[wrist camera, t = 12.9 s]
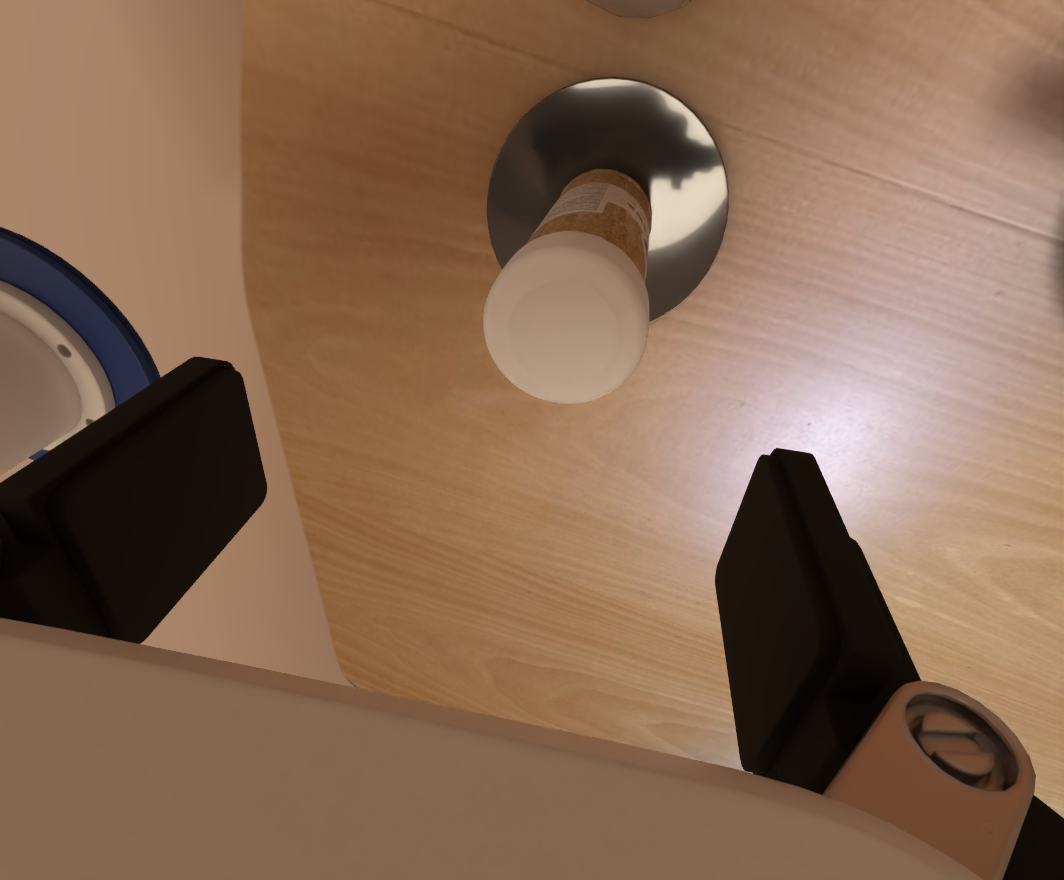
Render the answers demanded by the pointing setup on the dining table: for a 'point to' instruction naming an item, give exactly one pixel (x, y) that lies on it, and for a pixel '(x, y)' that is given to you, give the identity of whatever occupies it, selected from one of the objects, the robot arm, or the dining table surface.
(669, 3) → the can
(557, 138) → the coaster
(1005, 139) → the dining table surface
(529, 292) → the sprinkles bottle
